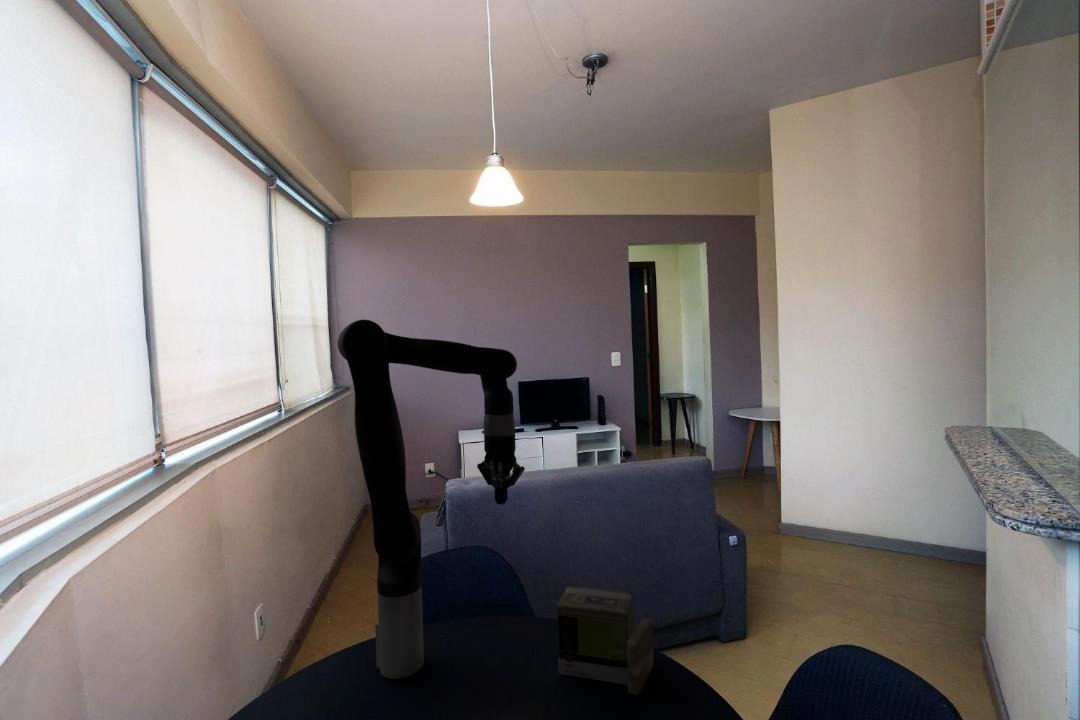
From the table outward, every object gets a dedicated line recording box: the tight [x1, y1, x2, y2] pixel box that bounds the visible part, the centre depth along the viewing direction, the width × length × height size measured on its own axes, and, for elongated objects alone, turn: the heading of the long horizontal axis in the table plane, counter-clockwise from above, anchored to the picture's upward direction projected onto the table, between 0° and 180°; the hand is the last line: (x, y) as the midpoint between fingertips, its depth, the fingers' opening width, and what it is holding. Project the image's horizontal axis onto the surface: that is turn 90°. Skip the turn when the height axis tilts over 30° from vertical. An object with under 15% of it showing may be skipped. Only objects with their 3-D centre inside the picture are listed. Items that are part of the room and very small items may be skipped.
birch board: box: [627, 618, 654, 696], centre depth 102 cm, size 2×10×10 cm, turn 150°
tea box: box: [556, 585, 635, 686], centre depth 107 cm, size 15×10×15 cm
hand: (501, 503), depth 121 cm, fingers closed
